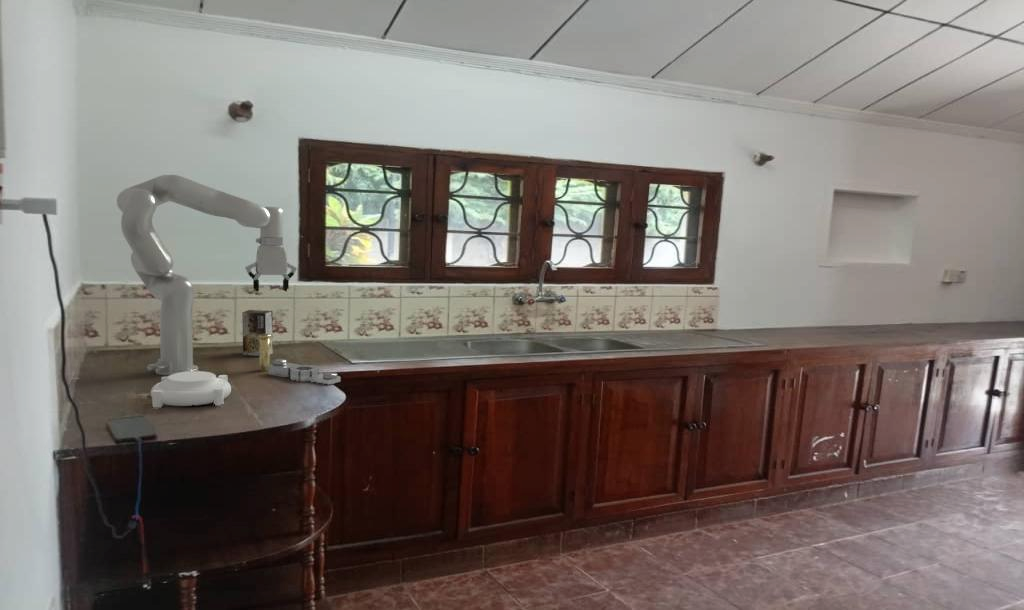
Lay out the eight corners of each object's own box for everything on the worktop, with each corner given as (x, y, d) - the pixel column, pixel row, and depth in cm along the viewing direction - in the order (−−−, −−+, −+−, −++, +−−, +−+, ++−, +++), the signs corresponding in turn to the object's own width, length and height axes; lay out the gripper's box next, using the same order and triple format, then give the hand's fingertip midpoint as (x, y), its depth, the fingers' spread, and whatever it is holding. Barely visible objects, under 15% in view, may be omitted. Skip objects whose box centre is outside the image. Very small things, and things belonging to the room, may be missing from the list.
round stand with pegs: (198, 385, 216) (198, 363, 215) (255, 398, 205) (255, 374, 204) (124, 403, 194) (123, 377, 193) (184, 418, 184) (183, 391, 183)
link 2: (326, 386, 220) (326, 377, 220) (284, 378, 227) (284, 370, 227) (344, 380, 228) (344, 372, 228) (303, 373, 235) (303, 365, 235)
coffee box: (273, 353, 264) (273, 310, 262) (265, 356, 258) (265, 313, 256) (250, 351, 265) (250, 309, 263) (241, 355, 259) (241, 311, 257)
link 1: (305, 382, 224) (305, 369, 223) (264, 375, 231) (264, 361, 230) (324, 377, 231) (324, 364, 231) (284, 370, 239) (284, 357, 238)
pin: (264, 371, 235) (264, 336, 234) (255, 370, 237) (255, 334, 235) (273, 369, 239) (273, 334, 237) (264, 368, 240) (264, 333, 239)
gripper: (247, 242, 240) (247, 292, 242) (299, 243, 249) (298, 291, 251) (243, 241, 246) (243, 289, 248) (293, 242, 255) (293, 289, 257)
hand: (271, 290), depth 250 cm, fingers open, 9 cm apart
